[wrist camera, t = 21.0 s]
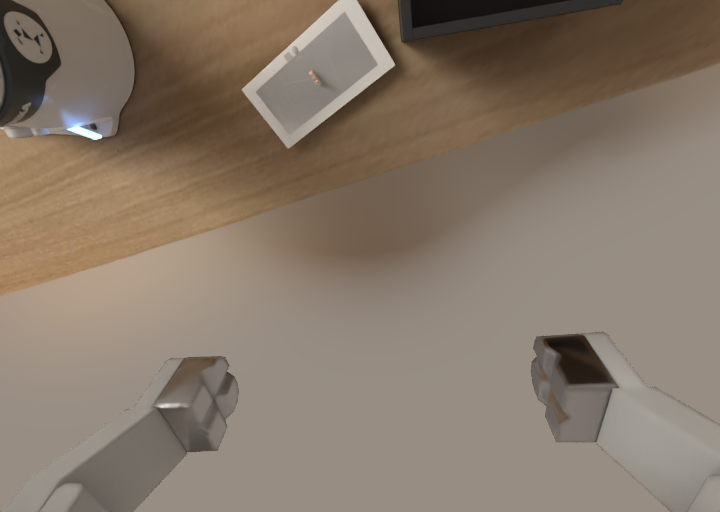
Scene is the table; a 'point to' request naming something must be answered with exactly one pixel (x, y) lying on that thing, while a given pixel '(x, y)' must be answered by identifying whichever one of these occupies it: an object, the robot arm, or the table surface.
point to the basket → (480, 14)
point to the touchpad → (319, 72)
